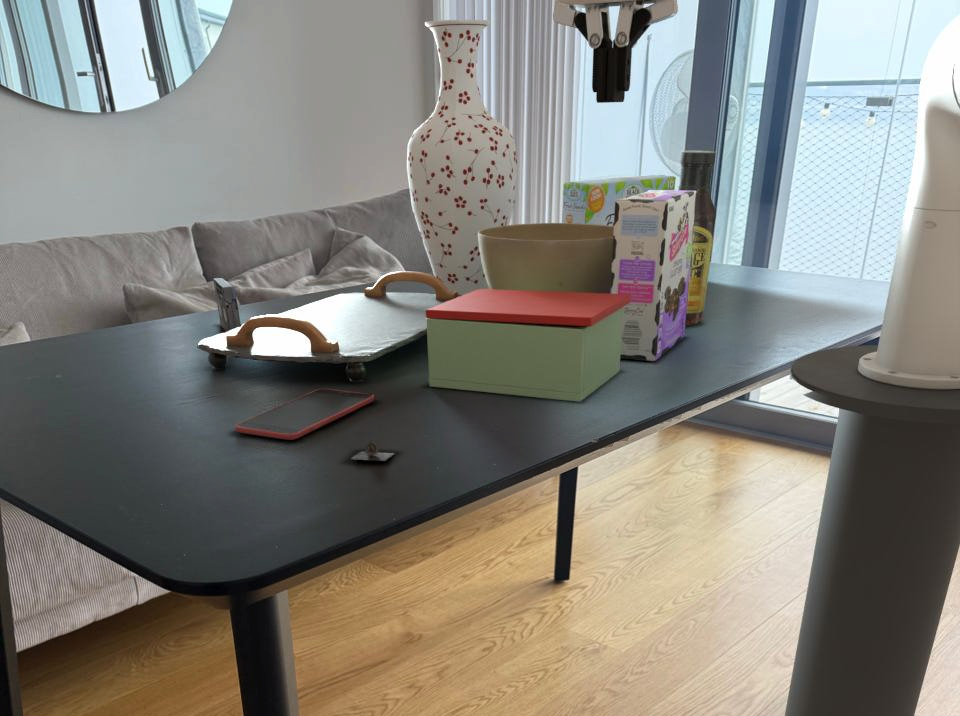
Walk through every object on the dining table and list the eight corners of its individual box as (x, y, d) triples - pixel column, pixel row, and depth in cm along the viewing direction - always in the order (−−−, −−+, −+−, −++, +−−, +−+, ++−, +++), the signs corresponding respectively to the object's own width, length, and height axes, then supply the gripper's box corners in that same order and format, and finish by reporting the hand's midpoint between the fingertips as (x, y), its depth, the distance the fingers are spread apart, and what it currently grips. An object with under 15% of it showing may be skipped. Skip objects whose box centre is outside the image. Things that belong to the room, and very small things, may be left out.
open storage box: (619, 371, 98) (623, 305, 94) (580, 402, 88) (582, 329, 85) (480, 359, 104) (479, 296, 101) (429, 386, 94) (426, 318, 91)
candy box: (656, 363, 101) (668, 198, 92) (605, 359, 103) (612, 198, 94) (686, 337, 111) (699, 187, 103) (639, 334, 113) (648, 187, 105)
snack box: (584, 291, 140) (588, 182, 132) (558, 287, 144) (560, 181, 136) (669, 274, 152) (677, 173, 145) (643, 271, 156) (649, 172, 148)
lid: (631, 302, 94) (631, 294, 94) (591, 326, 84) (591, 317, 84) (479, 296, 101) (479, 288, 100) (425, 318, 91) (425, 309, 90)
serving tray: (353, 310, 131) (349, 264, 128) (501, 318, 123) (500, 270, 120) (178, 374, 101) (167, 317, 98) (359, 392, 93) (353, 329, 90)
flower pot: (579, 359, 103) (583, 243, 97) (451, 341, 112) (447, 235, 106) (649, 329, 116) (656, 225, 109) (529, 316, 125) (530, 219, 119)
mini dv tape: (242, 335, 118) (234, 286, 115) (230, 336, 118) (222, 287, 115) (231, 323, 125) (224, 277, 122) (220, 324, 125) (213, 278, 121)
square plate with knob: (361, 451, 77) (360, 437, 76) (394, 453, 76) (394, 439, 76) (350, 459, 74) (349, 444, 74) (384, 462, 74) (383, 446, 73)
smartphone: (378, 394, 89) (293, 435, 79) (379, 400, 90) (294, 441, 79) (319, 387, 92) (230, 426, 81) (320, 393, 92) (231, 432, 82)
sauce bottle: (650, 326, 117) (662, 152, 107) (658, 317, 122) (670, 149, 112) (702, 328, 115) (719, 151, 105) (707, 319, 120) (724, 149, 110)
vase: (522, 286, 146) (522, 23, 128) (511, 304, 132) (509, 14, 114) (424, 286, 148) (410, 28, 130) (403, 304, 134) (385, 19, 116)
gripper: (515, -167, 71) (516, 105, 80) (706, -196, 65) (683, 100, 75) (550, -148, 77) (547, 104, 86) (728, -172, 71) (704, 99, 80)
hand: (610, 101), depth 80 cm, fingers closed
